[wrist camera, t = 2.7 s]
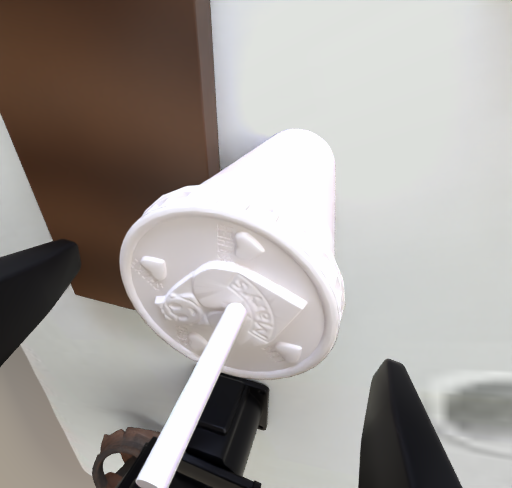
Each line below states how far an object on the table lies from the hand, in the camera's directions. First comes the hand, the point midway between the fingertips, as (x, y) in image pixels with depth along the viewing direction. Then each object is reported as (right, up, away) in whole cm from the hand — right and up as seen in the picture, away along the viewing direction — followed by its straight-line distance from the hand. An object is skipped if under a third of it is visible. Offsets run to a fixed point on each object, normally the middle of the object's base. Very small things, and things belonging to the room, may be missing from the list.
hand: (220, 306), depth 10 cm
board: (-7, +6, +11) cm, 14 cm away
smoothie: (+3, +6, +7) cm, 10 cm away
